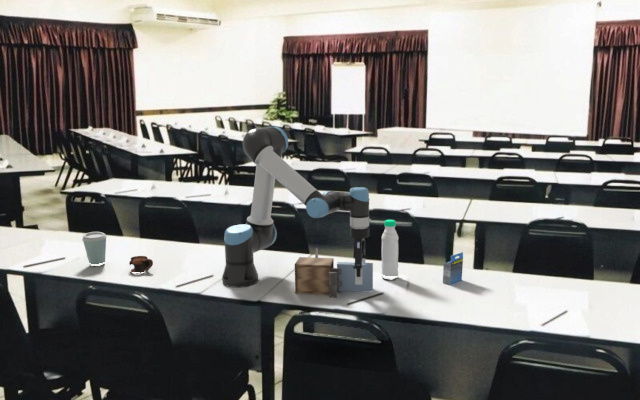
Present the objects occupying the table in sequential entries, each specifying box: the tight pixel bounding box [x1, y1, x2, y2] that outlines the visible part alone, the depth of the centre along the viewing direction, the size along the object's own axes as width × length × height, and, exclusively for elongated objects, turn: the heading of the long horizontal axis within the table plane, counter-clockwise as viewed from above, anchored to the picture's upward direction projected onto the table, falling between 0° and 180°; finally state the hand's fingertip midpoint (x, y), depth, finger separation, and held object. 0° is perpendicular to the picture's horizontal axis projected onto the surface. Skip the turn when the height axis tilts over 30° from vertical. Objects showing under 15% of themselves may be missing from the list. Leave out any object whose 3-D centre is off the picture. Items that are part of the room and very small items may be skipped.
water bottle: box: [380, 219, 399, 277], centre depth 258 cm, size 7×7×25 cm
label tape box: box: [442, 251, 464, 286], centre depth 253 cm, size 9×4×12 cm, turn 134°
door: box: [336, 261, 374, 292], centre depth 245 cm, size 14×3×11 cm, turn 81°
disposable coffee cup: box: [82, 231, 107, 264], centre depth 284 cm, size 11×11×15 cm
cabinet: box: [294, 256, 340, 299], centre depth 243 cm, size 17×13×12 cm
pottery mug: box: [128, 255, 154, 272], centre depth 275 cm, size 12×10×8 cm
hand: (360, 279), depth 244 cm, fingers open, 13 cm apart
